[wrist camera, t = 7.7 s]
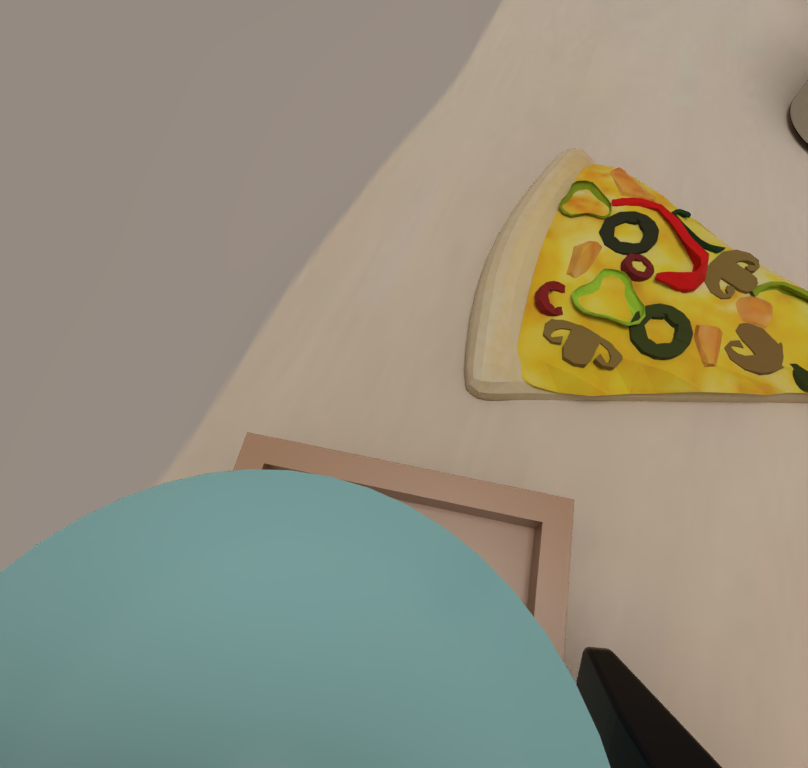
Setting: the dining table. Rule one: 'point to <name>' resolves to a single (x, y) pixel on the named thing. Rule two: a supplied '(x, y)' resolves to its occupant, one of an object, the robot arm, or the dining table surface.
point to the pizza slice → (628, 302)
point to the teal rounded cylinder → (275, 639)
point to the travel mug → (801, 112)
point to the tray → (458, 517)
